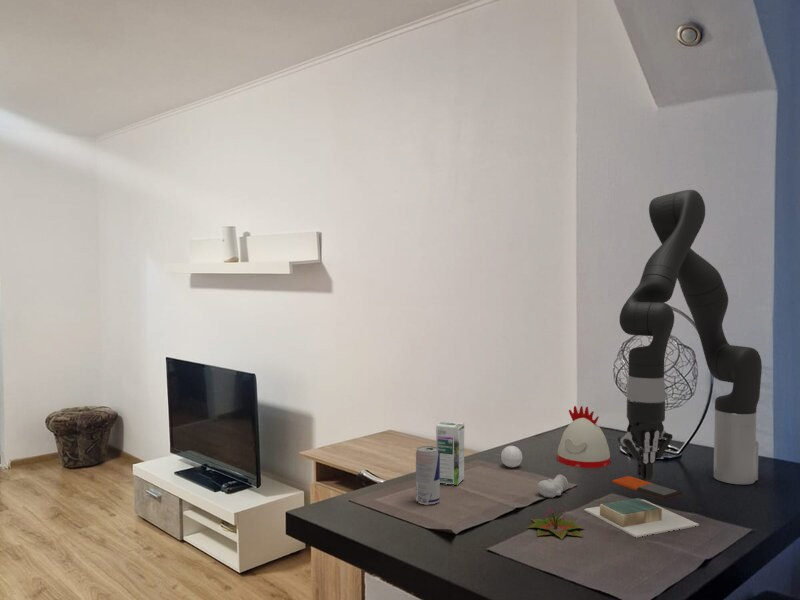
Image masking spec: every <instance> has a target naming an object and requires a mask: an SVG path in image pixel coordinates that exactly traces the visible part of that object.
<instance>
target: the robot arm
mask: <svg viewBox="0 0 800 600" xmlns="http://www.w3.org/2000/svg"><path fill="white" fill-rule="evenodd" d="M648 214H649V215H648V216H649V219H650V222H651V225H652V227H653V230H654V232H655V234H656V236H657V238H658V240H659V242H660V243H661V245H660V246H659V247H658V248H657V249H656V250H655V251H654V252H653V253H652V254H651V256H650V257H649V259H648V260H647V262H646V263H645V266H644V268H643V272H642V275H641V277H640V280H639V284H638V285H637V286H636V288H635V290H634V291H633V292H632V293H631V295H630V296H629V297H628V298H627V299H626V302H624V305H623V306H622V308H621V311H620V313H619V325H620V328H621V330H622V332H624V333H625V334H627V335H631V336H640V337H641V336H644V337H652V340H651V342H650V344H648V345H644V346H637V347H633V348H630V350H629V353H628V375H627V376H628V378H627V383H626V418H627V420H628V425H627V428H626V433H625V434H624V436H623V437H622V436H619V437H618V438H617V441H618V443H619V445H620V446H621V447H622V449H623V450H624V452H625V453H626V456H627V458H629V459H631V460H634V461H636V462H637V463H636V464H637V466H636V467H637V477H638V479H640V480H643V481H647V482H649V481H651V480H652V478H653V475H654V462H655V461H656V460H657V459H658V460H660V459H661V458H662V456H664V453H665V452H666V450H667V448H668V446H669V444H670V443H671V442H672V440H673V434H671V433H668V432H667V431H665V427H664V424H663V422H664V421H665V419H666V384H665V383H666V382H665V358H666V351H667V347H668V344H669V343H668V342H669V341H670V336H671V334H672V331H673V328H674V325H675V324H674V323H675V313H674V310H673V309H672V307H671V306H670V305H669V304H668V303H667V302H669V301H670V300H671V299H672V297H673V294H674V291H675V288H676V284H677V281H678V284H679V288H680V289H681V292H682V295H683V298H684V300H685V302H686V305H687V307H688V309H689V312H690V314H691V317H692V319H693V322H694V325H695V328H696V331H697V333H698V336H699V339H700V340H699V341H700V343H701V346H702V350H703V355H704V358H705V362H706V366H707V368H708V371H709V372H710V375H711V376H712V377H713V378H714V379H716V380H718V381H721V382H725V383H726V382H727V383H733V384H732V390H731V391H730V393H728V394H724V395H720V396H717V397H716V398H715V400H714V436H713V437H714V442H713V443H714V445H713V478H714V479H715V480H717V481H720V482H723V483H727V484H731V485H732V484H733V485H753V484H754V483H755V482H756V481H758V480H759V447H760V446H759V442H758V441H757V407H758V404H759V401H760V397H761V396H760V395H761V381H762V373H763V372H762V369H763V367H762V365H763V364H762V359H761V355H760V353H759V351H758V350H756V349H755V348H754V347H749V346H743V345H742V346H741V345H735V344H734V345H733V344H730V343H729V342H728V340H727V337H726V335H725V332H724V329H723V322H724V318H725V315H726V312H727V309H728V306H729V295H728V291H727V288H726V287H725V283H724V281H723V278H722V276H721V273H720V272H719V271H718V269H717V268H716V267H714V265H713V264H711V263H710V262H709V261H708V260H706V258H704V257H702V256H701V255H699V254H698V253H697V252H696V251H694V250H693V249H692V246H693V244H694V242H695V239H696V238H697V236H698V234H699V232H700V230H701V228H702V226H703V224H704V221H705V219H706V218H705V217H706V204H705V201H704V199H703V196H702V195H701V193H700V192H698V191H697V190H694V189H686V190H681V191H677V192H672V193H669V194H665V195H664V194H663V195H661V196H657V197H654V198H652V200H650V203H649V206H648Z"/></svg>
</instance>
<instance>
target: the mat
mask: <svg viewBox="0 0 800 600" xmlns="http://www.w3.org/2000/svg"><path fill="white" fill-rule="evenodd" d="M641 500H643V501H645V502H648V503H650V504H652V505H654V506H656V507H659V508H661V509H662V520H660V521H655V522H649V523H643V524H638V525H632V526H626V527H621V526H619V525H617V524H615V523H613V522H611V521H609V520H608V519H606V518H604V517H602V516H600V505H599V506H594V507H593V506H592V507H588V508H584V509H583V510H584V512H586V513H588V514H590V515H592V516H593V517H595V518H598V519H599V520H601V521H602V522H603V521H604V522H605V523H607V524H609V525H610V526H613V527H615V528H617V529H619V530H620V531H622V532H624V533H626V534H628V535H630V536H632V537H633V538H635V537H636V539H637V538H642V536H643V537H647V535H648V536H652V534H654V535H657V534H664V533H669V532H668V531H670V532H674V531H673V530H675V531H680V530H685V529H690V528H695V526H696V527H699V526H700V524H699V523H698V522H695V521H693V520H691V519H688V518H686V517H684V516H681V515H679V514H677V513H675V512H673V511H670V510H668V509H666V508H663V507H661V506H659V505H657V504H654V503H652V502H650V501H648V500H645V499H641ZM679 529H680V530H679Z"/></svg>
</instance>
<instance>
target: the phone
mask: <svg viewBox="0 0 800 600" xmlns="http://www.w3.org/2000/svg"><path fill="white" fill-rule="evenodd" d="M611 483H612V484H615V485H618V486H620V487H624V488H626V489H630V490H633V491H637V492H638V493H639V492H640V493H643V494H646V495H649V496H652V497H656V498H659V499H661V500H669V499H672V498H675V497H679V496H681V495H682V492H681V491H680V490H676V489H673V488H669V487H667V486H663V485H660V484H656V483H654V482H649V481H643V480H641V479H639V478H637V477H633V476H630V475H626V476H623V477H619V478H615V479H613V480H612V482H611Z"/></svg>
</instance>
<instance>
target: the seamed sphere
mask: <svg viewBox="0 0 800 600" xmlns="http://www.w3.org/2000/svg"><path fill="white" fill-rule="evenodd" d="M495 455H498V456H500V457H501V459H500V460H501V461H502V463H503V464H504V465H505V466H506V467H508V468H512V469H513V468H516V467H518V466H519V465H520V464H521V463H522V461H523V453H522V451H521V449H519V447H517V446H514V445H507V446H506V447H504V448H503V449H502V451H501V454H499V453H498V454H497V453H496V454H495Z"/></svg>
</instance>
